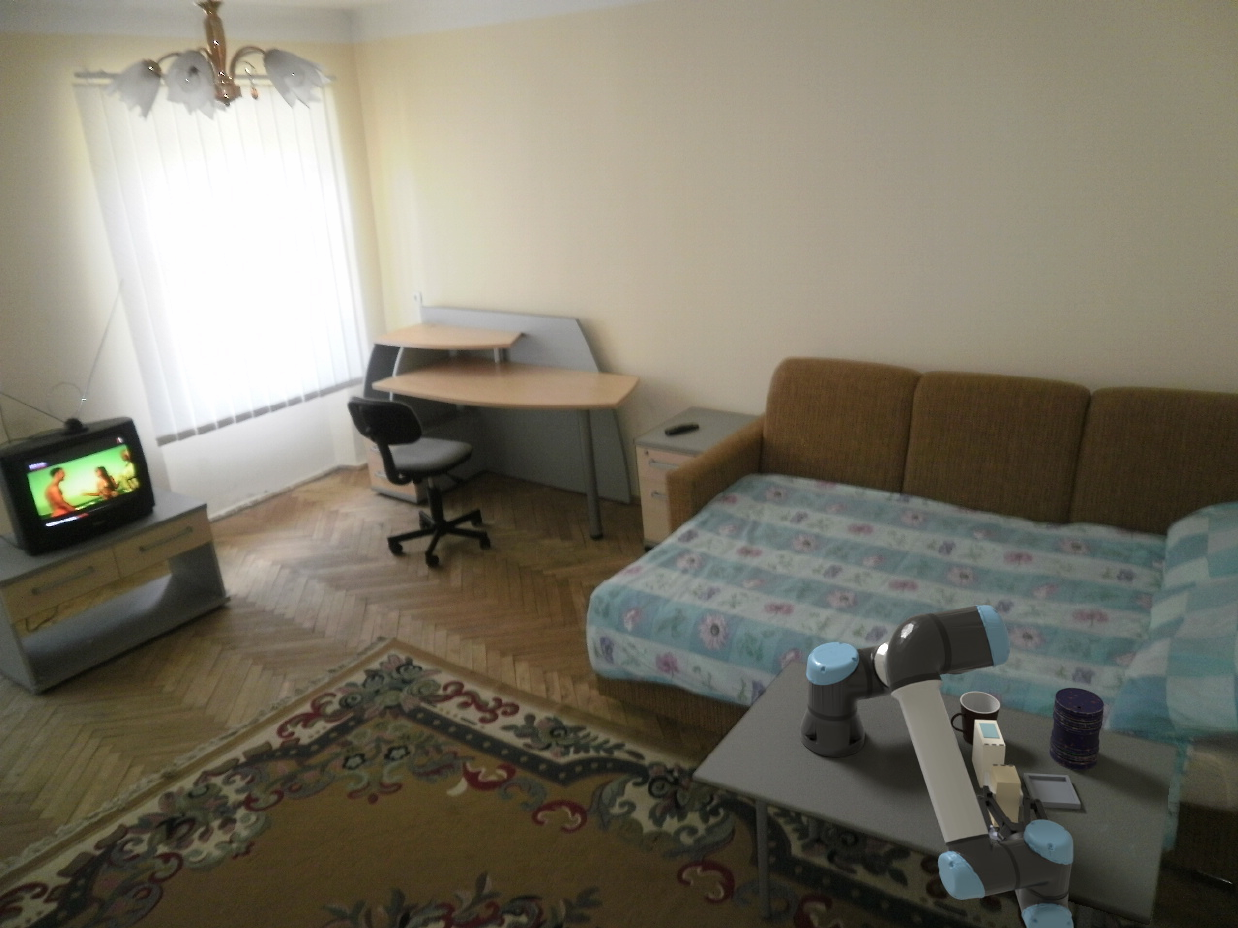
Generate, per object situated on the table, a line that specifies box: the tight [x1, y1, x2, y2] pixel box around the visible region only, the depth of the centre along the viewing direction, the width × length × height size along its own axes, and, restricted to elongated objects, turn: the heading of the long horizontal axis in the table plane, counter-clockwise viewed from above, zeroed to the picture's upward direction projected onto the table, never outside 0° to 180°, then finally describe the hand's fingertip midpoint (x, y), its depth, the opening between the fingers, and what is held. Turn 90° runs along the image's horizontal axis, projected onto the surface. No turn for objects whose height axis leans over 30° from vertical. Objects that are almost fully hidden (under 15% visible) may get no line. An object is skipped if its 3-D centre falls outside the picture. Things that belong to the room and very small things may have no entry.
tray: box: [1023, 772, 1081, 810], centre depth 191 cm, size 9×9×1 cm
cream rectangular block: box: [988, 763, 1022, 828], centre depth 182 cm, size 4×6×11 cm
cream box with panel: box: [971, 720, 1006, 788], centre depth 196 cm, size 4×9×11 cm, turn 170°
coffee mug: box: [950, 691, 1001, 746], centre depth 209 cm, size 12×9×10 cm
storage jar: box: [1049, 687, 1105, 772], centre depth 199 cm, size 10×10×15 cm
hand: (999, 778), depth 186 cm, fingers closed on cream rectangular block, 4 cm apart
